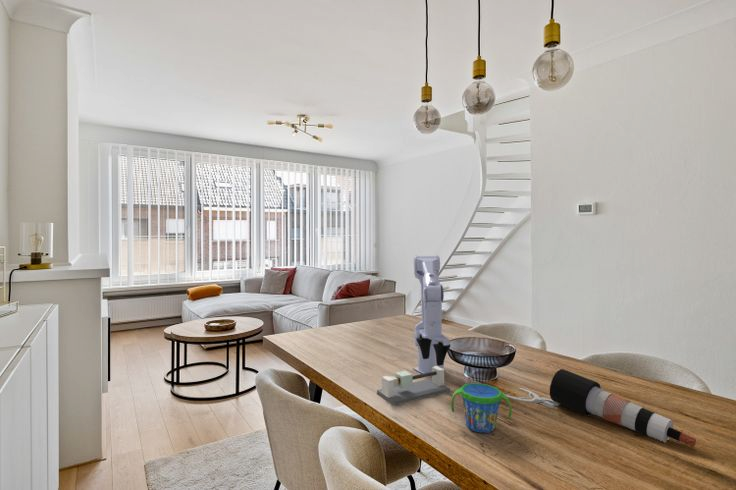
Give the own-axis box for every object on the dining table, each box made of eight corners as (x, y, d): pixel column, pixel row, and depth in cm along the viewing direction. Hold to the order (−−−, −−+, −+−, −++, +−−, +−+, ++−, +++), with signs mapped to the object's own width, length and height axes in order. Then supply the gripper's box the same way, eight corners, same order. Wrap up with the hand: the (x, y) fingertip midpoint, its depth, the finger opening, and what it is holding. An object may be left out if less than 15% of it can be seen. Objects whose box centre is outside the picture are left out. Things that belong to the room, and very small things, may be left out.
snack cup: (512, 423, 109) (512, 387, 109) (510, 442, 99) (511, 402, 99) (454, 414, 114) (454, 379, 114) (447, 431, 105) (448, 392, 104)
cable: (687, 472, 94) (686, 442, 91) (552, 407, 121) (547, 382, 118) (702, 442, 99) (701, 413, 95) (569, 386, 126) (564, 362, 122)
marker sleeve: (405, 382, 131) (405, 370, 131) (412, 386, 128) (412, 374, 127) (395, 384, 129) (395, 372, 129) (402, 389, 126) (402, 376, 125)
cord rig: (431, 381, 140) (431, 363, 140) (449, 391, 131) (450, 372, 131) (377, 393, 129) (377, 373, 129) (393, 405, 121) (393, 384, 120)
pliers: (519, 384, 134) (564, 399, 122) (519, 389, 134) (564, 404, 122) (502, 391, 128) (547, 407, 116) (502, 396, 128) (547, 413, 116)
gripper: (410, 318, 137) (410, 357, 137) (437, 326, 124) (437, 370, 124) (427, 316, 140) (426, 354, 140) (454, 324, 127) (454, 366, 128)
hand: (432, 361), depth 133 cm, fingers open, 7 cm apart
